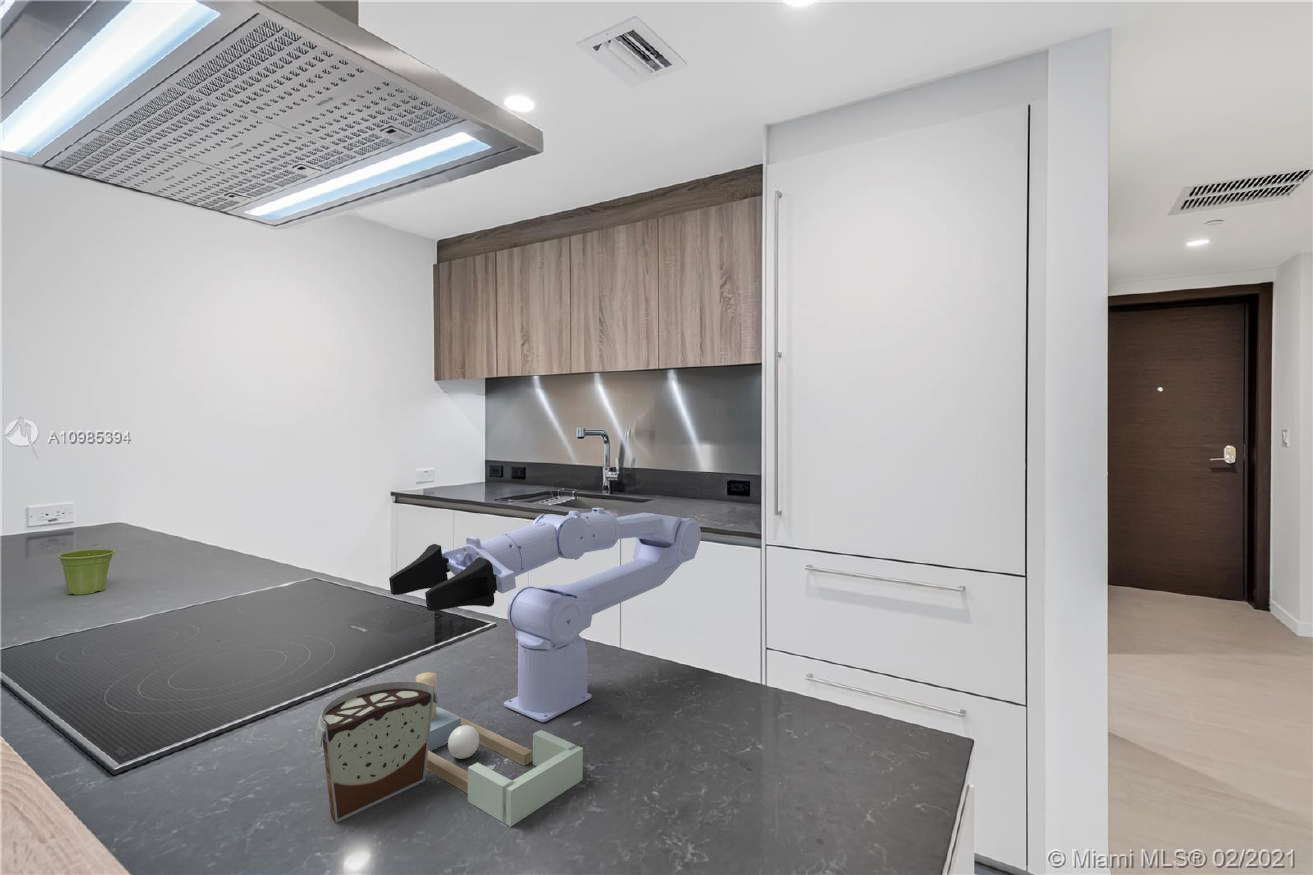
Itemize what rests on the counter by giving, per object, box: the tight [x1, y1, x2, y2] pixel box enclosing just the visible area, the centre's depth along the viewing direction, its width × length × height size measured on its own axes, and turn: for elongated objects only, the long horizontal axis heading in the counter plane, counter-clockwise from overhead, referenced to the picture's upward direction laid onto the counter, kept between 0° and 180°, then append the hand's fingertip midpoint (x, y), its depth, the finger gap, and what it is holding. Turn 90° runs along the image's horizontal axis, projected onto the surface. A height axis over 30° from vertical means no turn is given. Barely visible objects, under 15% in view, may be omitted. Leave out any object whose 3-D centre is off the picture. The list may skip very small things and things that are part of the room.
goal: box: [467, 729, 584, 828], centre depth 65 cm, size 10×7×4 cm, turn 143°
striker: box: [415, 671, 461, 752], centre depth 75 cm, size 5×5×8 cm
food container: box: [314, 680, 439, 824], centre depth 65 cm, size 12×6×10 cm, turn 141°
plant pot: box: [57, 548, 116, 596], centre depth 138 cm, size 9×9×9 cm
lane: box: [426, 706, 533, 795], centre depth 73 cm, size 8×18×1 cm, turn 54°
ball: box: [447, 725, 479, 760], centre depth 72 cm, size 4×4×4 cm
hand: (408, 593), depth 69 cm, fingers open, 7 cm apart
